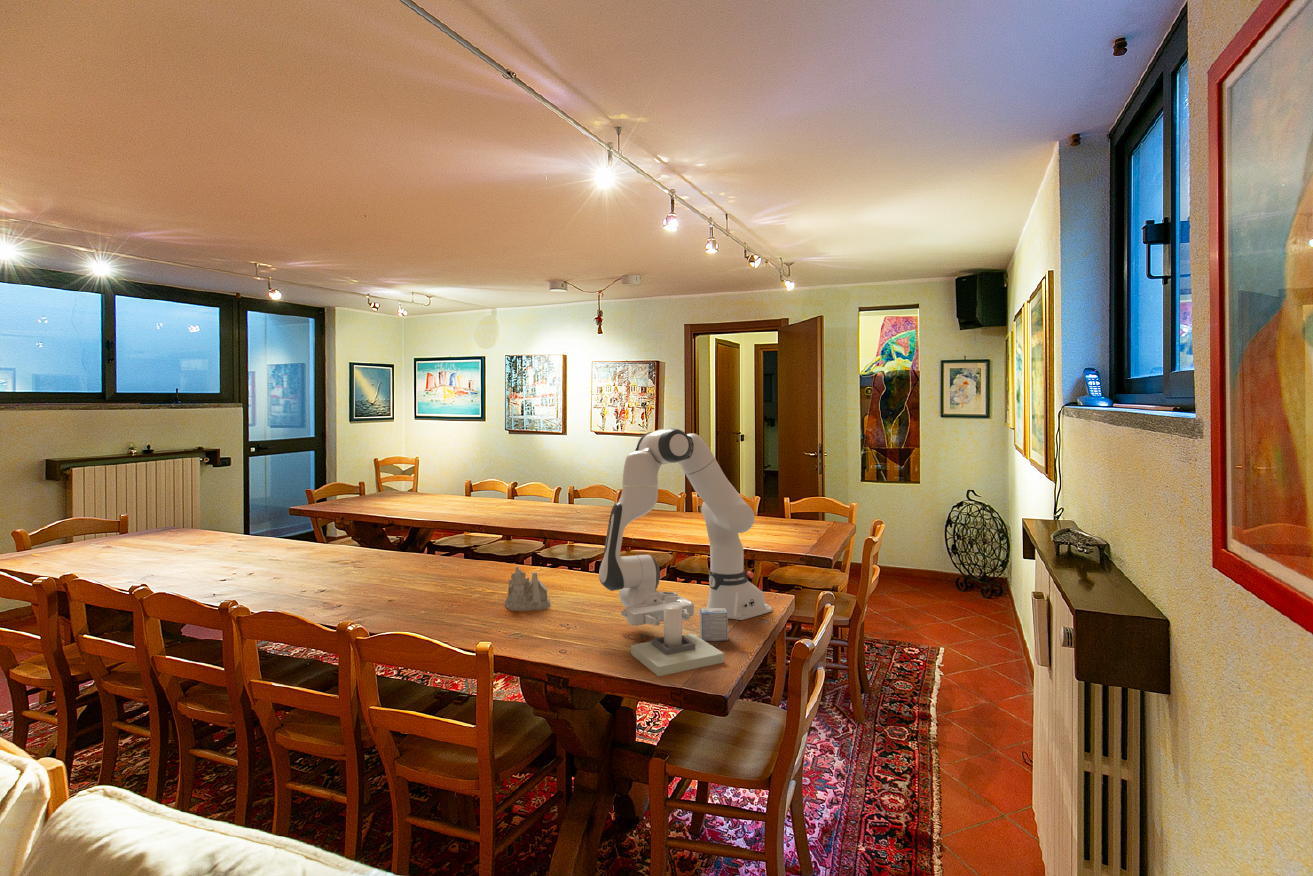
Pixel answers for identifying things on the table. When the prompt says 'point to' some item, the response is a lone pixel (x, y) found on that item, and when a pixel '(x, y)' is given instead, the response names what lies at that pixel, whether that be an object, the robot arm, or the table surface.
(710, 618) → the medicine box
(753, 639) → the table surface
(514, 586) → the stone castle model
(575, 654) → the table surface
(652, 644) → the slab with grey frame
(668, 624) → the white rounded capsule
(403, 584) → the table surface
